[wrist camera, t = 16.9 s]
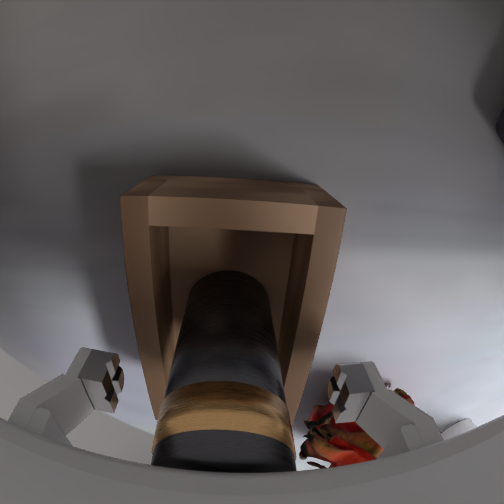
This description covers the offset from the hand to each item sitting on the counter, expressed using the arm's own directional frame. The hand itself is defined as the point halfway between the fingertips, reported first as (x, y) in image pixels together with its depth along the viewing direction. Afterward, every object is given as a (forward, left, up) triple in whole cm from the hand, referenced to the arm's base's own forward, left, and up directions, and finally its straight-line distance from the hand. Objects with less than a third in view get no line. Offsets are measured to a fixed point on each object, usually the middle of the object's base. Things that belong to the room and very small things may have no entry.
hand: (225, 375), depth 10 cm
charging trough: (0, 0, -6) cm, 6 cm away
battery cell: (0, 0, -5) cm, 5 cm away
